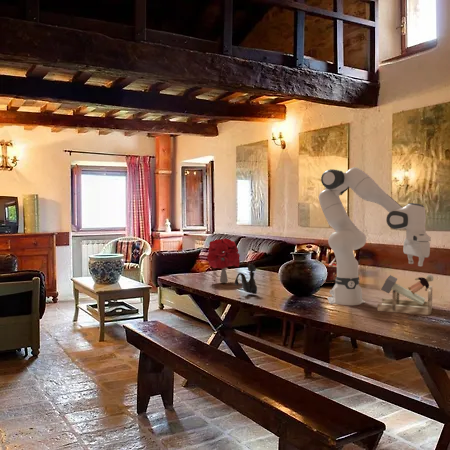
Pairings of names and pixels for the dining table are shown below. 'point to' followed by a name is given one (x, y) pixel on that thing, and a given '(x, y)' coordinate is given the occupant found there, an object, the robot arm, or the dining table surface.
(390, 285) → the hammer
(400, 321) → the dining table surface
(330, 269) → the stew
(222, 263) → the bouquet
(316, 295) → the dining table surface
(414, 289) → the grandmother figurine
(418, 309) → the frame
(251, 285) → the cat figurine
